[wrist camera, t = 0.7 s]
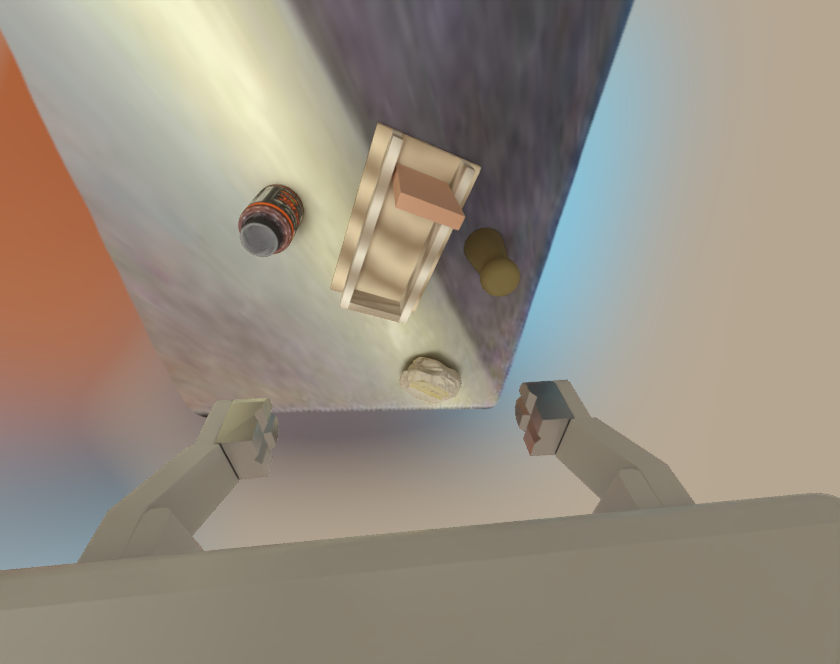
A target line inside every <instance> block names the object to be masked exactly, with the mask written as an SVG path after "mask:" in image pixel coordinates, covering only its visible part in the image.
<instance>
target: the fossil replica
mask: <svg viewBox="0 0 840 664" xmlns="http://www.w3.org/2000/svg"><path fill="white" fill-rule="evenodd" d="M461 384H462V383H461V378H460V375H459V374H458V372H456V371H455V370H453V369H450V368H447V367H446V366H444V364H442V363H441V362H439V361H437V360H434V359H430V358H425V357H418V358H416V359H415V360H414V361H413V363H412V364H411V365H410V366H409V367H408V370H405V371H403V374H402V376H401V377H400V387H402V388H403V389H404V390H406V391H407V392H409V393H410V394H412V395H413V396H415V397H416V398H419V399H422V400H425V401H428V402H430V403H437V402H441V401H443V400H447V399H449V398H450V397H455V396H456V395H457V393H458V391H459V390H460V387H461Z"/></svg>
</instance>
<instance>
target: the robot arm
mask: <svg viewBox="0 0 840 664" xmlns="http://www.w3.org/2000/svg"><path fill="white" fill-rule="evenodd" d="M519 392H520V394H521V397H519V398H518V399H517V400H516V405H515V415H516V420H517V423H518V426H519V428H520V429H522V430H523V431H524V432H525V435H524V438H523V439H524V441H525V444H526V446H527V449H528V451H529V454H530V456H540V455H555V456H556V457H557V458H558V459H559V460H560V461H561V462H562V463H563V464H565V466H566V467H567V468H568V469H570V470H571V471H572V472H573V473H574V474H575V475H576V476H577V477H578V478H579V479H580V480H581V481H582V482H583V483H584V484H585V485H586V486H587V487H589V489H591V490H592V491H593V492H594V493H595V494H596V495H597V496H598V497H599V498H600V499H601V500H600V502H599V503H598V505H597V507H596V508H595V510H594V511H593V513H592V514H587V515H577V516H566V517H557V518H546V519H535V520H525V521H514V522H503V523H493V524H483V525H472V526H461V527H450V528H440V529H430V530H419V531H408V532H399V533H388V534H377V535H367V536H357V537H346V538H335V539H326V540H314V541H304V542H294V543H283V544H273V545H262V546H252V547H241V548H231V549H221V550H210V551H203V549H202V547H201V546H200V545H199V544H198V543H197V541H196V540H195V539H194V538H193V537H192V535H193V534H194V533H195V532H196V531H197V530H198V529H199V527H200V526H201V525H202V524H203V523H204V522H205V520H206V519H207V518H208V517H209V516H210V515H211V513H212V512H213V511H214V510H215V509H216V507H217V506H218V505H219V504H220V503H221V502H222V501H223V499H224V498H225V497H226V496H227V495H228V494H229V492H230V491H231V490H232V489H233V488H234V486H235V485H236V484H237V483H238V482H239V480H241V479H251V478H260V477H268V473H269V469H270V466H271V462H272V458H273V457H272V454H271V452H270V450H271V449H272V448H273V447H274V446H275V445H276V442H277V438H278V421H277V418H276V415H274V414H273V413H271V410H272V403H271V401H270V399H267V398H265V399H238V400H218V401H217V402H216V403H215V404H214V405H213V406H212V409H211V411H210V413H209V415H208V417H207V419H206V421H205V423H204V426H203V427H202V430H201V432H200V434H199V436H198V438H197V440H196V442H195V444H194V446H188V447H187V448H186V449H184V450H183V451H182V452H181V453H180V454H178V455H177V456H176V457H175V458H173V459H172V460H171V461H169V462H168V463H167V464H166V465H164V466H163V467H162V468H161V469H159V470H158V471H157V472H156V473H155V474H153V475H152V476H151V477H150V478H148V479H147V480H146V481H145V482H143V484H141V485H140V486H138V487H137V488H136V489H135V490H133V491H132V492H131V493H130V494H128V495H127V496H126V497H125V498H123V499H122V500H121V501H120V502H119V503H117V504H116V505H115V506H113V507H112V508H111V509H110V510H108V512H107V513H106V515H105V517H104V519H103V520H102V522H101V523H100V525H99V527H98V528H97V530H96V532H95V534H94V535H93V537H92V538H91V540H90V542H89V544H88V545H87V547H86V549H85V550H84V552H83V554H82V555H81V557H80V559H79V560H78V562H77V563H74V564H63V565H52V566H42V567H31V568H21V569H11V570H10V569H9V570H0V664H840V498H838V497H835V496H833V495H829V494H823V493H806V494H796V495H786V496H775V497H766V498H754V499H744V500H734V501H724V502H713V503H703V504H695V502H694V501H693V500H692V498H691V497H690V495H689V494H688V493H687V491H686V490H685V489H684V487H683V486H682V484H681V483H680V482H679V480H678V479H677V477H676V476H675V474H674V473H673V472H672V470H671V469H670V467H669V466H668V465H667V464H666V463H664V462H663V461H661V460H660V459H658V458H657V457H655V456H654V455H652V454H651V453H649V452H648V451H646V450H645V449H643V448H641V447H640V446H638V445H637V444H635V443H634V442H632V441H631V440H629V439H628V438H626V437H625V436H623V435H622V434H620V433H619V432H617V431H615V430H614V429H613V428H611V427H610V426H608V425H607V424H605V423H604V422H602V421H601V420H599V419H598V418H596V417H595V418H591V416H590V414H589V413H588V411H587V409H586V408H585V406H584V404H583V403H582V401H581V400H580V398H579V397H578V395H577V393H576V392H575V390H574V388H573V386H572V385H571V383H570V382H569V381H568V380H557V381H540V382H526V383H522V384H521V386H520V389H519Z"/></svg>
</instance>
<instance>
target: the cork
mask: <svg viewBox="0 0 840 664" xmlns="http://www.w3.org/2000/svg"><path fill="white" fill-rule="evenodd" d="M464 253H465V256H466V258H467V259H468V260H469V261H470V263H471V264H472V265H473V267H474V268H475V269H476V270H477V272H478V273H479V274H480V282H481V285H482V287H483V289H484V290H485V291H486V292H487V293H488V294H490V295H492V296H499V297H500V296H505V295H508V294H510V293H511V292H513V291H514V290H515V288H516V287H517V286H518V283H519V281H520V271H519V268H518V267H517V265H516V264H515V263H514V262H513V261H512V260H510V259H509V258H508V255H507V252H506V249H505V245H504V242H503V239H502V236H501V235H500V234H499V232H498V231H496V230H494V229H491V228H481V229H479V230H476V231H474V232H473V233H472V234H471V235H470V236H469V237H468V238H467V240H466V242H465V245H464Z"/></svg>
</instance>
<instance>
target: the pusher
mask: <svg viewBox="0 0 840 664" xmlns="http://www.w3.org/2000/svg"><path fill="white" fill-rule="evenodd" d="M392 182H393V191H394V199H395V208H398V209H401V210H404V211H406V212H409V213H412V214H415V215H417V216H420V217H423V218H426V219H428V220H431V221H434V222H437V223H440V224H442V225H445V226H448V227H451V228H453V229H456V230H459V229H460V227H461V225H462V223H463V221H464V218H465V215H464V213H463V211H462V209H461V207H460V206H459V204H458V202H457V200H456V198H455V196H454V194H453V192H452V190H451V188H450V187H449V185H448V183H446V182H444V181H441V180H439V179H436V178H434V177H431V176H429V175H426V174H424V173H421V172H419V171H416V170H414V169H411V168H409V167H407V166H404V165H402V164H399V163H397V162H396V164H395V167H394V170H393V173H392Z"/></svg>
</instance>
